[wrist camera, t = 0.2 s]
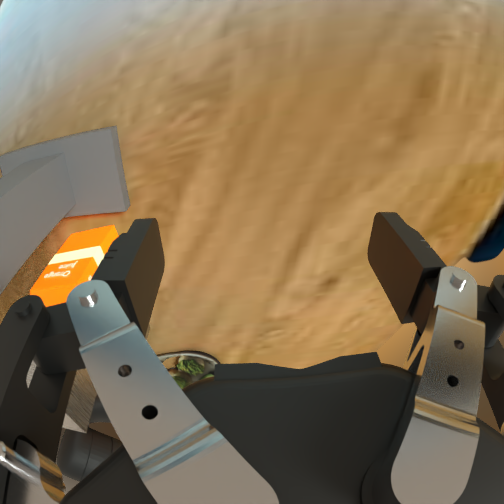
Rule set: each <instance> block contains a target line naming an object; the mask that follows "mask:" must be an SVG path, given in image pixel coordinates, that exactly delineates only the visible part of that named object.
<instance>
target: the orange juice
mask: <svg viewBox="0 0 504 504" xmlns="http://www.w3.org/2000/svg"><path fill="white" fill-rule="evenodd" d="M117 237H118V234H117V232H116V229H115V227H114V225H110V226H106V227H101V228H97V229H92V230H87V231H83V232H79V233H74V234H71V235H70V237H69V238H68V239H67V240H66V242H65V243H64V244H63V246H62V247H61V248H60V249H59V251H58V252H57V253H56V254H55V256H54V257H53V258H52V260H51V261H50V262H49V264H48V266H47V267H46V268H45V270H44V271H43V273H42V274H41V275H40V277H39V278H38V280H37V281H36V283H35V284H34V286H33V287H32V289H31V290H30V295H37V296H39V297H40V298H41V299H42V300H43V302H44V304H45V306H46V307H48V306H52V305H56V304H60V303H64V302H66V299H67V296H68V294H69V293H70V292H71V290H72V289H73V288H75V287H76V286H77V285H79V284H81V283H83V282H86V281H89V280H91V278H92V276H93V275H94V273H95V271H96V269H97V267H98V266H99V264H100V262H101V260H102V259H103V257H104V255H105V253H106V252H108V248H109V247H110V245H111V243H112V242H113V241H114V240H115V239H116V238H117Z"/></svg>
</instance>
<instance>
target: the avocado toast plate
mask: <svg viewBox="0 0 504 504" xmlns="http://www.w3.org/2000/svg"><path fill="white" fill-rule="evenodd" d="M176 356H180V358H179V360H178V364H177V367H176V368H170V369H167V371H168V372H169V374H170V375H171V376H172V378H173V379H174V380H175V382H176V383H177V384H178V386H179V387H180V388H181V389H183V388H185V387H186V386H188V385H190V384H192V383H194V382H196V381H199V380H202V379H205V378H208V377H212V376H214V370H215V364H220V363H219V361H218V360H217V359H216V358H214V357H213V356H211V355H209V354H207V353H204V352H199V351H182V352H176V353H168V354H164V355H160V356H157V357H158V358H159V360H160V361H161V362H162V363H163V362H164V361H165V360H166V359H168V358H171V357H176Z"/></svg>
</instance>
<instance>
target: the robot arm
mask: <svg viewBox="0 0 504 504" xmlns="http://www.w3.org/2000/svg"><path fill="white" fill-rule="evenodd" d="M368 260H369V263H370V265H371V267H372V269H373V271H374V272H375V274H376V276H377V278H378V280H379V282H380V283H381V285H382V287H383V289H384V291H385V293H386V295H387V296H388V298H389V300H390V302H391V304H392V306H393V308H394V310H395V312H396V314H397V316H398V318H399V320H400V322H401V324H405V323H411V322H414V323H415V324H416V326H417V327H416V329H415V332H414V334H413V337H412V341H411V344H410V347H409V350H408V353H407V356H406V359H405V362H404V365H403V367H402V368H401V367H397V366H394V365H390V364H384V363H381V362H380V359H379V357H378V354H377V352H371V353H364V354H356V355H348V356H340V357H337V358H335V359H332V360H329V361H326V362H323V363H320V364H317V365H314V366H311V367H308V368H304V369H293V368H286V367H279V366H272V365H266V364H260V363H243V364H215V370H214V376H212V377H208V378H205V379H202V380H199V381H196V382H194V383H192V384H190V385H188V386H186V387H185V388H183V389H181V388H180V387H179V386H178V384H177V383H176V382H175V380H174V379H173V378H172V376H171V375H170V374H169V372H168V371H167V369H166V368H165V367H164V365H163V364H162V362H161V361H160V360H159V358H158V357H157V355H156V354H155V352H154V351H153V350H152V348H151V347H150V345H149V344H148V342H147V341H146V340H147V337H148V333H149V321H150V317H151V314H152V310H153V307H154V303H155V300H156V296H157V293H158V289H159V286H160V282H161V279H162V276H163V272H164V265H165V261H164V253H163V248H162V243H161V237H160V232H159V227H158V222H157V220H156V218H148V219H135V220H134V222H133V224H132V225H131V227H130V229H129V231H128V232H127V233H122V234H121V235H120V236H119V237H117V238H116V239H115V240H114V241H113V242H112V243H111V245H110V247H109V248H108V252H106V253H105V255H104V257H103V259H102V260H101V262H100V264H99V266H98V267H97V269H96V271H95V273H94V275H93V276H92V278H91V280H89V281H86V282H83V283H81V284H79V285H77V286H76V287H75V288H73V289H72V290H71V292H70V293H69V294H68V296H67V299H66V302H64V303H60V304H56V305H52V306H48V307H46V306H45V304H44V302H43V300H42V299H41V298H40V297H39V296H37V295H28V296H25V297H23V298H21V299H19V300H17V301H16V302H15V303H14V304H13V305H12V306H11V307H10V309H9V310H8V312H7V314H6V316H5V317H4V319H3V321H2V323H1V325H0V504H504V349H503V347H502V345H501V343H500V341H499V340H498V338H499V337H500V335H501V334H502V332H503V331H504V275H497V276H495V277H494V279H493V281H492V283H491V285H490V287H486V286H480V285H477V283H476V281H475V279H474V278H473V276H472V275H470V274H469V273H468V272H466V271H465V270H463V269H461V268H458V267H454V266H446V265H445V263H444V262H443V261H442V260H441V258H440V257H439V256H438V255H437V254H436V252H435V251H434V250H433V249H432V248H430V245H429V244H428V243H427V242H426V241H425V239H424V238H423V237H422V236H421V235H420V234H419V232H418V231H416V230H415V229H413V228H411V227H410V226H408V225H407V224H406V223H405V222H404V221H403V219H402V218H401V217H400V216H399V215H398V214H397V213H395V212H378V213H376V215H375V217H374V222H373V227H372V232H371V236H370V241H369V246H368ZM32 361H34V363H35V364H36V365H37V366H36V368H35V371H34V374H33V377H32V379H31V382H30V385H29V388H28V387H27V381H26V379H27V374H28V371H29V368H30V366H31V363H32ZM85 368H86V369H87V371H88V374H89V376H90V378H91V381H92V383H93V385H94V388H95V390H96V392H97V395H96V398H95V402H94V406H93V409H92V413H91V417H90V420H89V424H90V423H94V422H111V423H112V425H113V427H114V428H115V430H116V432H117V434H118V436H119V438H120V440H121V441H120V440H118V439H115V438H113V437H110V436H108V435H105V434H103V433H100V432H98V431H96V430H93V429H91V428H89V424H88V428H87V432H86V433H83V432H79V431H74V430H70V429H65V432H64V435H63V438H62V441H61V444H60V447H59V451H58V445H59V440H60V436H61V431H62V426H63V422H64V418H65V413H66V409H67V405H68V401H69V397H70V394H71V390H72V386H73V383H74V379H75V375H76V372H77V370H80V369H85ZM481 383H482V386H483V388H484V390H485V393H486V395H487V398H488V400H489V403H490V405H491V408H492V410H493V413H494V416H495V418H496V421H497V424H498V427H499V429H500V433H499V432H497V431H496V430H495V429H493V428H492V427H490V426H489V425H487V424H486V423H484V422H483V421H481V420H480V419H479V418H477V417H476V414H477V408H478V402H479V396H480V388H481ZM57 451H58V456H57ZM56 456H57V465H56V463H55V462H56ZM61 473H62V474H63V475H65V476H67V477H70V478H72V479H74V480H77V481H80V482H79V483H78V484H77V485H76V486H75V487H74V488H72V490H70V491H69V492H68V493H67V494H66V495H65V494H64V493H65V491H66V487H65V484H64V483H63V478H62V474H61Z"/></svg>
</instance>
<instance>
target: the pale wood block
mask: <svg viewBox="0 0 504 504" xmlns="http://www.w3.org/2000/svg"><path fill="white" fill-rule="evenodd" d="M36 366H37V365H36V364H35V363H34V361H32V363H31V366H30V368H29V371H28V374H27V379H26V381H27V387H28V388H29V385H30V382H31V379H32V377H33V374H34V371H35V368H36ZM96 395H97V392H96V390H95V388H94V385H93V383H92V381H91V378H90V376H89V374H88V371H87V369H86V368H85V369H80V370H77V372H76V375H75V379H74V383H73V386H72V390H71V394H70V397H69V401H68V405H67V409H66V413H65V418H64V422H63V426H62V428H66V429H70V430H74V431H79V432H83V433H86V432H87V428H88V424H89V420H90V417H91V413H92V409H93V406H94V402H95V398H96Z"/></svg>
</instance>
